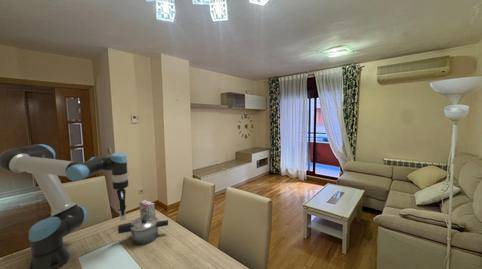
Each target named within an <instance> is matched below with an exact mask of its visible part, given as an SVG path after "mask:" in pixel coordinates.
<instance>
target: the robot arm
mask: <svg viewBox="0 0 482 269" xmlns="http://www.w3.org/2000/svg"><path fill="white" fill-rule="evenodd" d="M0 169H1V170H2V171H5V172H8V173H15V174H21V173H24V172H26V173H28V174H32V176H33V178H34V180H35V181H36V184H37V185H38V186H39V189H40V191H41V192H42V194H43V195H44V197H45V199H46V200H47V203H48V205H49V206H50V208H51V210H52V214H51V217H50V216H49V217H47V218H45V219H41V220H40V221H39V220H38V222H36V223H34V224H33V225H32V226H31V227H30V228H29V231H28V240H29V244H30V250H31V256H32V257H31V261H30V264H29V267H28V269H56V268H58V267H60V266H62V265H63V264H64V265H65V264H67V262H69V260H70V258H69V257H70V252H69V251H68V249H67V248H66V247H65V245H64V238H65V237H66V236H68V235H69V234H70V233H73V231H75V230H76V229H79V228H80V227H81V226H82V225H83V224H84V223H85V222H86V221H87V219H88V210H86V208H85V207H84V206H82V205H78V204H77V203H76V202H72V200H71V199H70V196H69V195H68V192H67V191H66V189H65V187H64V184H62V182H61V180H60V178H59V177H66V178H67V179H68V180H70V181H72V182H77V181H81V180H84V179H86V178H88V177H90V176H93V175H96V174H97V173H99V172H102V171H106V172H107V171H111V180H112V188H113V190H116V194H117V199H118V206H119V207H118V208H119V209H118V211H119V218H120V219H119V220H120V222H121V221H122V222H123V221H125V220H127V215H126V213H127V212H126V208H127V206H126V188H127V187H129V180H128V179H129V173H128V158H127V153H124V152H119V153H118V152H115V153H112V154H111V155H110V156H93V157H90V159H88V160H86V161H84V162H79V161H72V160H71V161H70V160H63V159H56V152H55V150H54V149H53V148H52V147H51V146H49V145H48V144H47V145H46V144H41V143H40V144H32V145H27V146H19V147H13V148H9V149H7V150H4V151H3V152H1V153H0ZM68 259H69V260H68ZM64 265H63V266H64ZM63 266H62V267H63ZM60 268H61V267H60ZM58 269H59V268H58Z"/></svg>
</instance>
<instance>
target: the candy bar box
mask: <svg viewBox="0 0 482 269" xmlns="http://www.w3.org/2000/svg"><path fill="white" fill-rule="evenodd" d="M138 203H139V214H140V218H141V217H144V216H155V217H156V209H155V208H156V207H155V206H156V205H155V203H154V202H151V201H149V200H147V199H143V200H141V201H139V202H138Z"/></svg>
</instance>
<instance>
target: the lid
mask: <svg viewBox="0 0 482 269" xmlns="http://www.w3.org/2000/svg"><path fill="white" fill-rule="evenodd" d="M157 222H159V220H158V217H156V215H155V216H144V217H141V216H140V217H138V218H136V219H134V220H133V221H131V222H128V223H122V224H119V225H118V226H117V230H118V231H120V230H124V229H129V228H130V230H132V231H135V232H140V231H145V230H148V229H150V228H152V227H154V226H155V225H156V224H157Z"/></svg>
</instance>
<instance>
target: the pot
mask: <svg viewBox="0 0 482 269" xmlns="http://www.w3.org/2000/svg"><path fill="white" fill-rule="evenodd" d="M166 226H169V220H167V219H166V220H161V221H159V220H158V222H157V224H156V225H155V226H154V227H152V228H150V229H148V230H145V231H140V232H135V231H132V230H130V228H129V229H124V230H120V231H118V234H125V233H130V238H131V244H132V245H133V246H136V247H142V246H143V247H144V246H146V245H149V244H151V243H153V242H154V241H155V240H156V239H158V236H159V228H161V227H166Z"/></svg>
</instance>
